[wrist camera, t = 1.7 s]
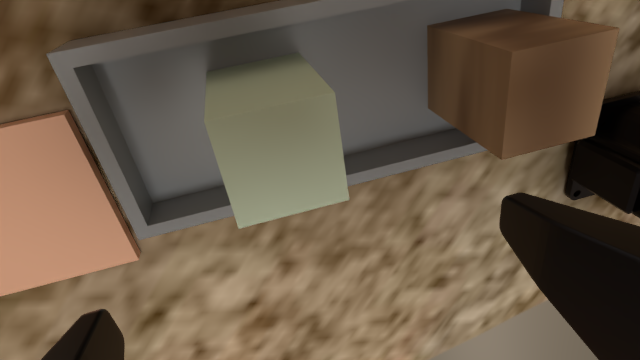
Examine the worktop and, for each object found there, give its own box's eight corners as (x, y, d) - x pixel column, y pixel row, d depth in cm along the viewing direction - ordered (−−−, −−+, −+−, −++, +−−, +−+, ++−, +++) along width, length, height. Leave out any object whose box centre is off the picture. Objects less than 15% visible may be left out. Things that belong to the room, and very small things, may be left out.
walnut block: (507, 8, 18) (619, 27, 13) (499, 91, 20) (594, 135, 15) (427, 25, 18) (512, 52, 13) (427, 108, 20) (501, 159, 15)
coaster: (68, 109, 17) (63, 114, 16) (140, 252, 21) (138, 259, 20) (-142, 154, 16) (-153, 160, 15) (-23, 294, 20) (-29, 303, 19)
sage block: (298, 52, 17) (335, 92, 12) (313, 135, 19) (349, 199, 14) (206, 71, 17) (204, 121, 12) (231, 155, 19) (238, 228, 14)
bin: (529, -48, 18) (571, -49, 16) (511, 119, 22) (542, 136, 20) (68, 40, 16) (46, 54, 13) (146, 209, 20) (138, 240, 18)
